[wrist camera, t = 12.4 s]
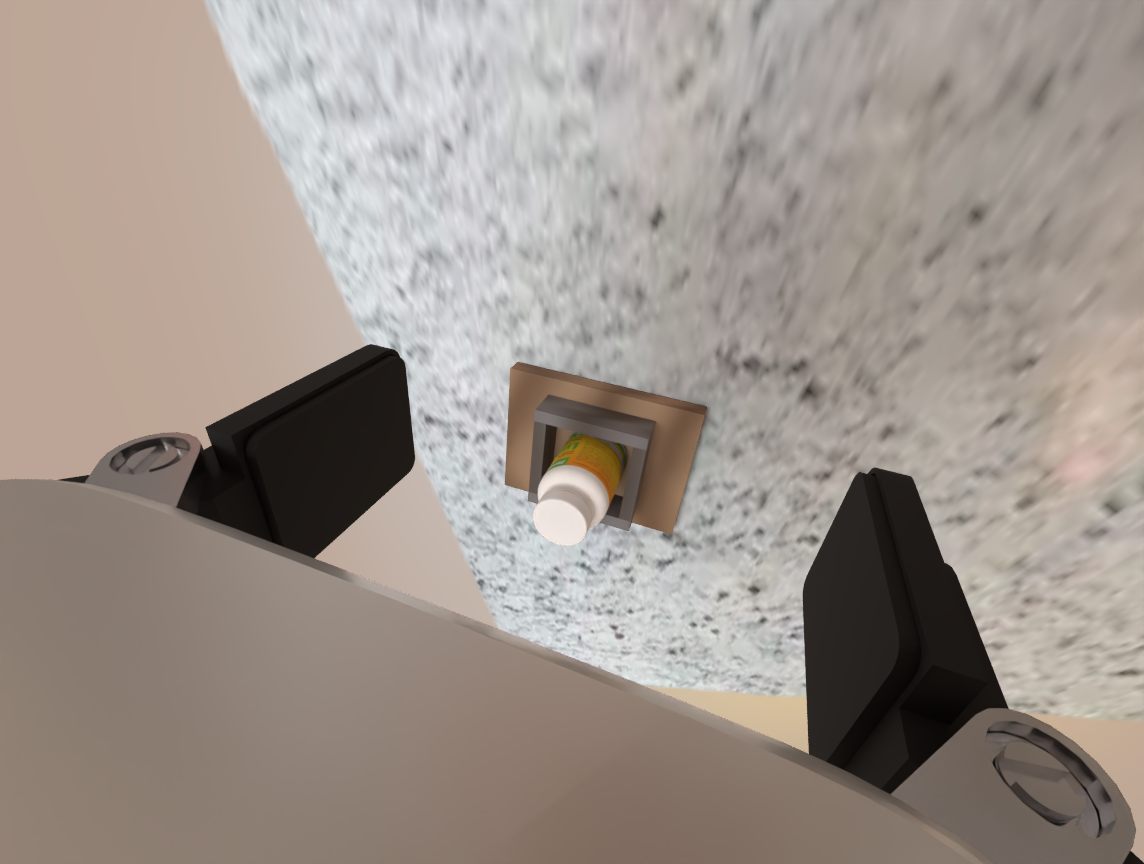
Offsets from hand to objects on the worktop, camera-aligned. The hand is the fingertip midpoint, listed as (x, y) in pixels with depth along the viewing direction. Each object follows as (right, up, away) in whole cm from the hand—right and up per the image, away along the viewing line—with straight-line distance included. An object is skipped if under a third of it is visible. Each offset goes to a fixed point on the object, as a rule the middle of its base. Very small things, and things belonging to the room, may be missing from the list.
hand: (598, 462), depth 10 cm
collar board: (+2, -1, +34) cm, 34 cm away
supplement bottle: (+2, -1, +32) cm, 32 cm away
